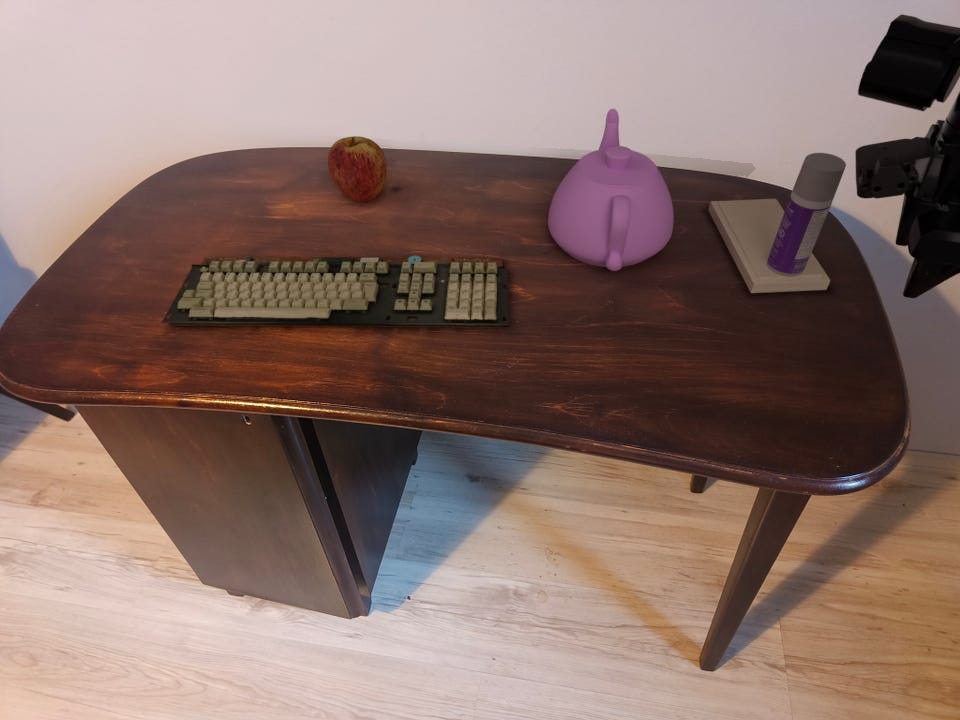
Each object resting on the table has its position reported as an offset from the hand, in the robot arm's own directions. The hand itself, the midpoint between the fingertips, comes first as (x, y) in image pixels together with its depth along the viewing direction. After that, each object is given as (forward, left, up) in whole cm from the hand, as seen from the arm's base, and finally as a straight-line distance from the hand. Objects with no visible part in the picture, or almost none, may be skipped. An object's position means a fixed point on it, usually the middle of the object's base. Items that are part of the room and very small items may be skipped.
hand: (904, 269), depth 66 cm
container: (+9, -13, -11) cm, 19 cm away
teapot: (+33, -17, -13) cm, 39 cm away
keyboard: (+64, +8, -13) cm, 66 cm away
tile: (+11, -20, -13) cm, 26 cm away
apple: (+73, -16, -13) cm, 76 cm away
